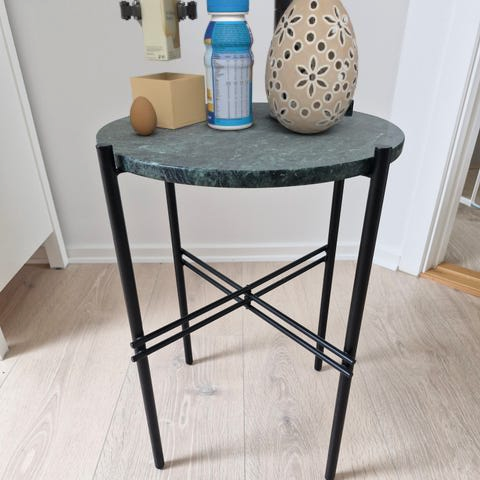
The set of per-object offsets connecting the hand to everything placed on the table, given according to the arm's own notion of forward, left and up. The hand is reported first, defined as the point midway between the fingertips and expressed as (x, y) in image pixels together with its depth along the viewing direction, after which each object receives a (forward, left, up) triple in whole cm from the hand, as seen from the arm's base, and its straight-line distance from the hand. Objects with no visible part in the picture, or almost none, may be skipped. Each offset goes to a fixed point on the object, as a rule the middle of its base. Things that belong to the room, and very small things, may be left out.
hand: (159, 11), depth 72 cm
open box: (-3, -2, -17) cm, 18 cm away
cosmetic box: (-2, -2, -7) cm, 8 cm away
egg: (+8, +2, -17) cm, 19 cm away
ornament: (-9, +24, -17) cm, 31 cm away
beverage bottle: (-6, +10, -17) cm, 21 cm away
